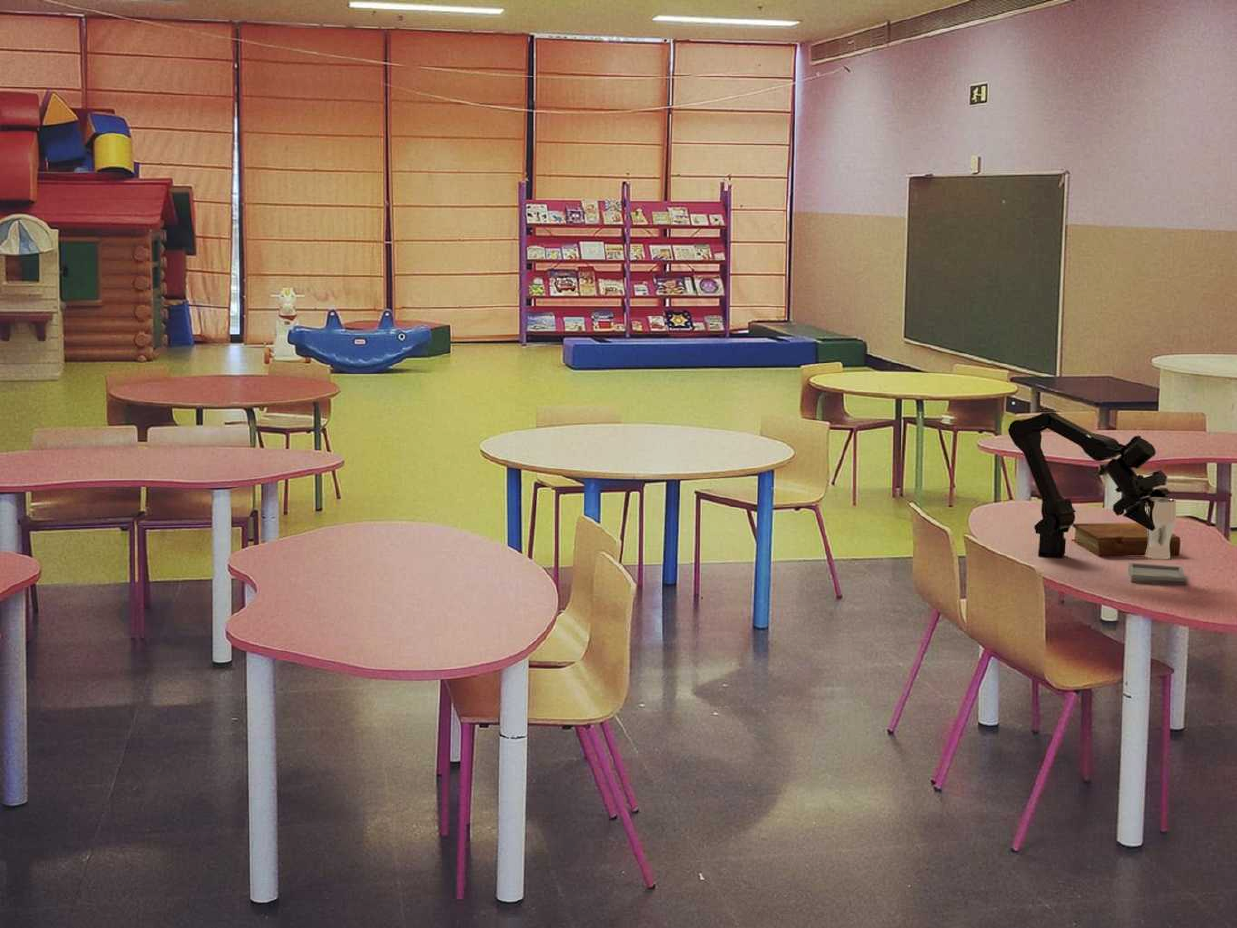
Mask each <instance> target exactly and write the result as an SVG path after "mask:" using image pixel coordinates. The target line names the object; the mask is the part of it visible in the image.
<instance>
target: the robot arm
mask: <svg viewBox="0 0 1237 928" xmlns="http://www.w3.org/2000/svg"><path fill="white" fill-rule="evenodd" d="M1046 430H1050V431H1052V432H1054V433H1055V434H1058V435H1059V436H1061V437H1063V438H1064V439H1067V440H1068V441H1070V442H1072V443H1074V444H1076V445H1077V446H1079V447H1080V448H1081V449H1082V451H1084V454H1086V455H1087V456H1089V458H1090V459H1092V460H1093V461H1096V462H1103V461H1108V460H1109V461H1108V462H1107V463H1104V464H1103V463H1102V464H1100V465H1099V471H1098V475H1099V476H1104V475H1108V476H1109V477H1110V479H1111V480H1112V481H1113V483H1114V484H1115V486H1116V488H1115V491H1116V493H1121V494H1122V497H1121V498H1120V499H1118V501H1116V502H1115V503H1114V504H1112V511H1113V512H1114V514H1115V515H1116V516H1122V517H1124V518H1127V519H1129V520H1132V521H1133V522H1134V523H1139V524H1140V525H1142V526H1144V527H1146V528H1147V529H1149V530H1151V531H1153V530H1154V529H1155V527H1154V525H1153V523H1152V521H1151V519H1150V518H1149V516H1148V514H1147V509H1146V508H1147V506H1148V500H1149V498H1152V497H1163V498H1169V497H1170V496H1172V493H1171V492H1170V490H1169V489H1168V488H1167V487H1164V486H1166V485H1167V479H1168V476H1167V475H1166V474H1165V472H1163V471H1162V470H1161V469H1160V470H1156V471H1154V472H1152V474H1151V475H1149V476H1145V477H1144V475H1142V474H1139V475H1138V474H1137V473H1136V471H1135V470H1134V469H1140V468H1141V467H1142V466H1144V465H1145V464H1146V463H1147V462H1149V460H1151V459H1152V458H1153V457H1154V456H1156V453H1157V451H1156V449H1155V447H1154V445H1153V444H1152V443H1150V442H1148V440H1146V439H1144V438H1142V436H1141V435H1135V436H1133V437H1132V438H1131V440H1130V441H1129V442H1127V443H1126V444H1122V443H1120V442H1119V441H1118V440H1117V439H1116V438H1113V437H1110V436H1107V435H1104V434H1100V433H1095V432H1094V433H1093V432H1091V431H1089V430H1087V429H1085V428H1083V427H1082V426H1079V425H1078V424H1076V423H1074V422H1073V421H1070V420H1069V419H1066V418H1064V417H1063V416H1061V415H1060V414H1058V413H1057V412H1055V411H1046V412H1041V413H1040V414H1038V415H1035V416H1032V417H1029V418H1022V419H1015V420H1013V421H1012V422H1011V423H1010V424H1009V426H1008V430H1007V431H1008V435H1009V437H1010V438H1011V440H1012V442H1013V444H1014V445H1015V447H1017V448H1018V449H1019V450H1020V451H1021V452H1022V453H1023V455H1024V458H1025V460H1026V463H1027V465H1028V468H1029V470H1030V473H1031V476H1032V478H1033V481H1034V484H1035V486H1036V489H1037V491H1038V494H1039V496H1040V499H1041V509H1040V510H1041V516H1042V519H1040V520H1038V522H1037V523H1036V524H1034V526H1033V528H1034V531H1035V534H1038V535H1039V539H1038V540H1039V542H1038V550H1037V555H1038V557H1049V558H1061V559H1062V558H1064V555H1065V554H1066V543H1067V541H1066V540H1067V539H1066V537H1065V533H1068V532H1069V530H1070V528H1071V526H1073V524H1075V523H1074V522H1075V521H1076V514H1075V513H1076V511H1077V510H1075V508H1074V507H1073V503H1072V500H1071V499H1070V498H1064V497H1062V495H1061V494H1060V493H1059V490H1058V487H1057V485H1056V483H1055V479H1054V477H1053V474H1052V472H1051V470H1050V467H1049V464H1048V462H1047V460H1046V458H1045V454H1044V452H1043V450H1042V436H1043V435H1042V432H1043V431H1046ZM1117 457H1118V458H1117ZM1133 468H1134V469H1133ZM1160 486H1163V487H1160ZM1158 487H1159V488H1158ZM1154 488H1155V489H1154Z"/></svg>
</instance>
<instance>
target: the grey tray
mask: <svg viewBox="0 0 1237 928" xmlns="http://www.w3.org/2000/svg"><path fill="white" fill-rule="evenodd" d="M1127 565H1128V569H1127V570H1128V575H1129V579H1130V578H1131V579H1130V582H1131V583H1135V582H1137V583H1138V584H1150V585H1163V586H1175V585H1180V586H1179V587H1187V576H1186V574H1185V571H1184V569H1183V566H1181V565H1180V566H1178V565H1164V564H1150V563H1135V562H1128V564H1127Z"/></svg>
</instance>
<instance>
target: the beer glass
mask: <svg viewBox="0 0 1237 928" xmlns="http://www.w3.org/2000/svg"><path fill="white" fill-rule="evenodd" d="M1176 504H1177V501H1176V499H1173V498H1169V497H1168V498H1163V497H1152V498H1149V500H1148V506H1147V507H1146V510H1147V512H1146V513H1147V514H1148V516H1149V518H1150V519H1151V521H1152V523H1153V525H1154V527H1155V529H1154V530H1153V531H1151V530H1149V529H1147V537H1148V543H1147V548H1146V552H1145V558H1149V559H1153V560H1160V561H1162V560H1163V561H1164V560H1169V559H1171V555H1170V550H1169V544H1170V539H1171V535H1172V534H1173V531H1174V527H1175V523H1176V517H1177V515H1176V513H1177V512H1176V511H1177V509H1176V508H1177V507H1176Z"/></svg>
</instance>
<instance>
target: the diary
mask: <svg viewBox="0 0 1237 928" xmlns="http://www.w3.org/2000/svg"><path fill="white" fill-rule="evenodd" d="M1072 528H1075V532H1074V539H1071V542H1072V541H1074V542H1075V543H1074V542H1073V543H1074V544H1076V543H1077V544H1078V545H1077V544H1076V545H1077V546H1079V545H1080V547H1081V546H1082V547H1081V548H1083V547H1084V548H1086V549H1087V550H1086V549H1085V550H1086V551H1088V550H1089V551H1088V552H1090V553H1091V552H1092V553H1091V554H1093V555H1094V556H1097V557H1126V556H1125V555H1139V556H1138V557H1140V556H1141V555H1145V552H1146V548H1147V543H1148V537H1147V528H1146V527H1144V526H1142V525H1140V524H1139V523H1137V522H1125V523H1123V522H1117V523H1116V522H1115V523H1112V522H1111V523H1110V522H1109V523H1107V522H1106V523H1097V522H1096V523H1088V522H1087V523H1073V524H1072ZM1084 548H1083V549H1084ZM1169 550H1170V556H1179V555H1180V550H1181V538H1180V536H1179V535H1176V534H1173V533H1172V535H1171V539H1170V544H1169ZM1141 557H1142V556H1141Z"/></svg>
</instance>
